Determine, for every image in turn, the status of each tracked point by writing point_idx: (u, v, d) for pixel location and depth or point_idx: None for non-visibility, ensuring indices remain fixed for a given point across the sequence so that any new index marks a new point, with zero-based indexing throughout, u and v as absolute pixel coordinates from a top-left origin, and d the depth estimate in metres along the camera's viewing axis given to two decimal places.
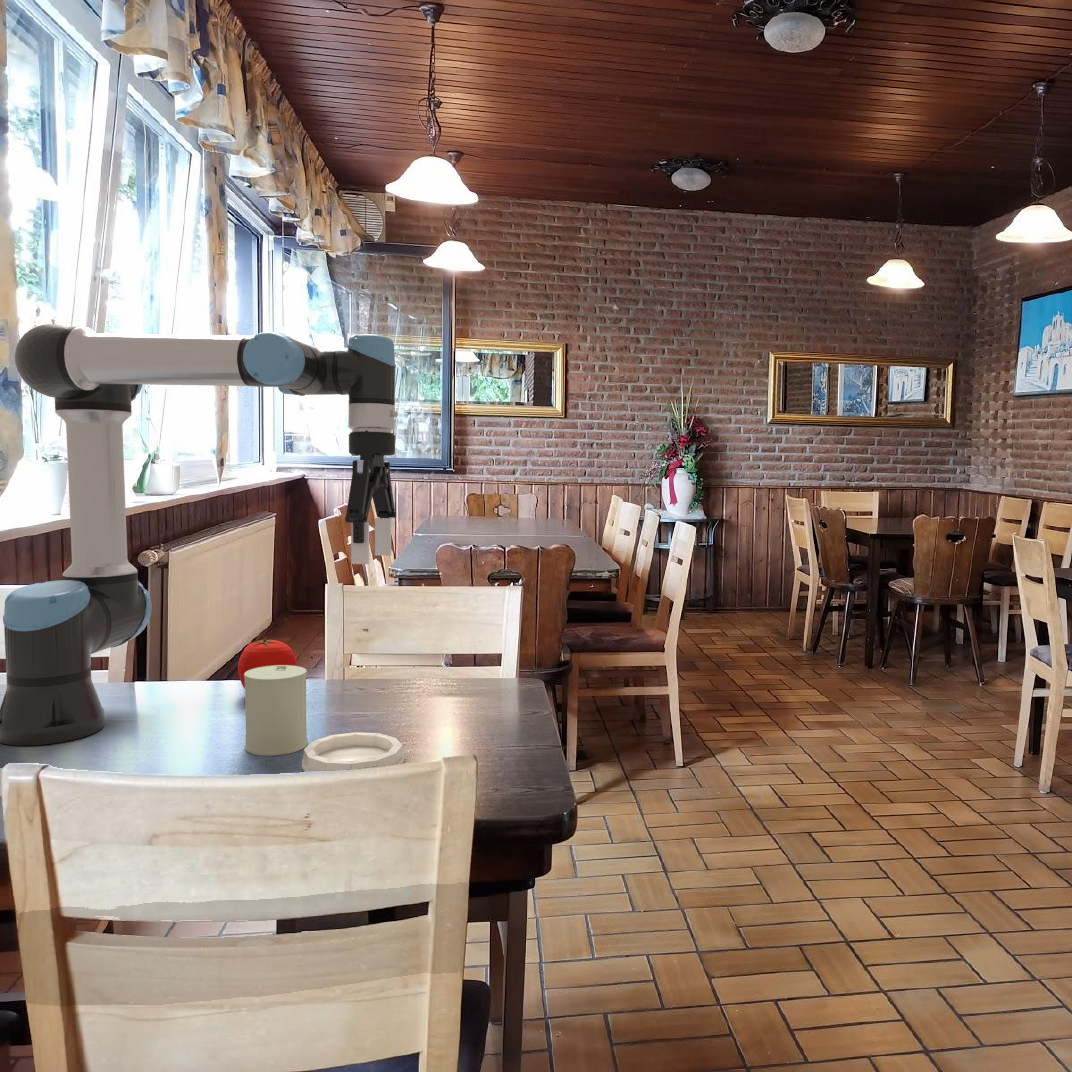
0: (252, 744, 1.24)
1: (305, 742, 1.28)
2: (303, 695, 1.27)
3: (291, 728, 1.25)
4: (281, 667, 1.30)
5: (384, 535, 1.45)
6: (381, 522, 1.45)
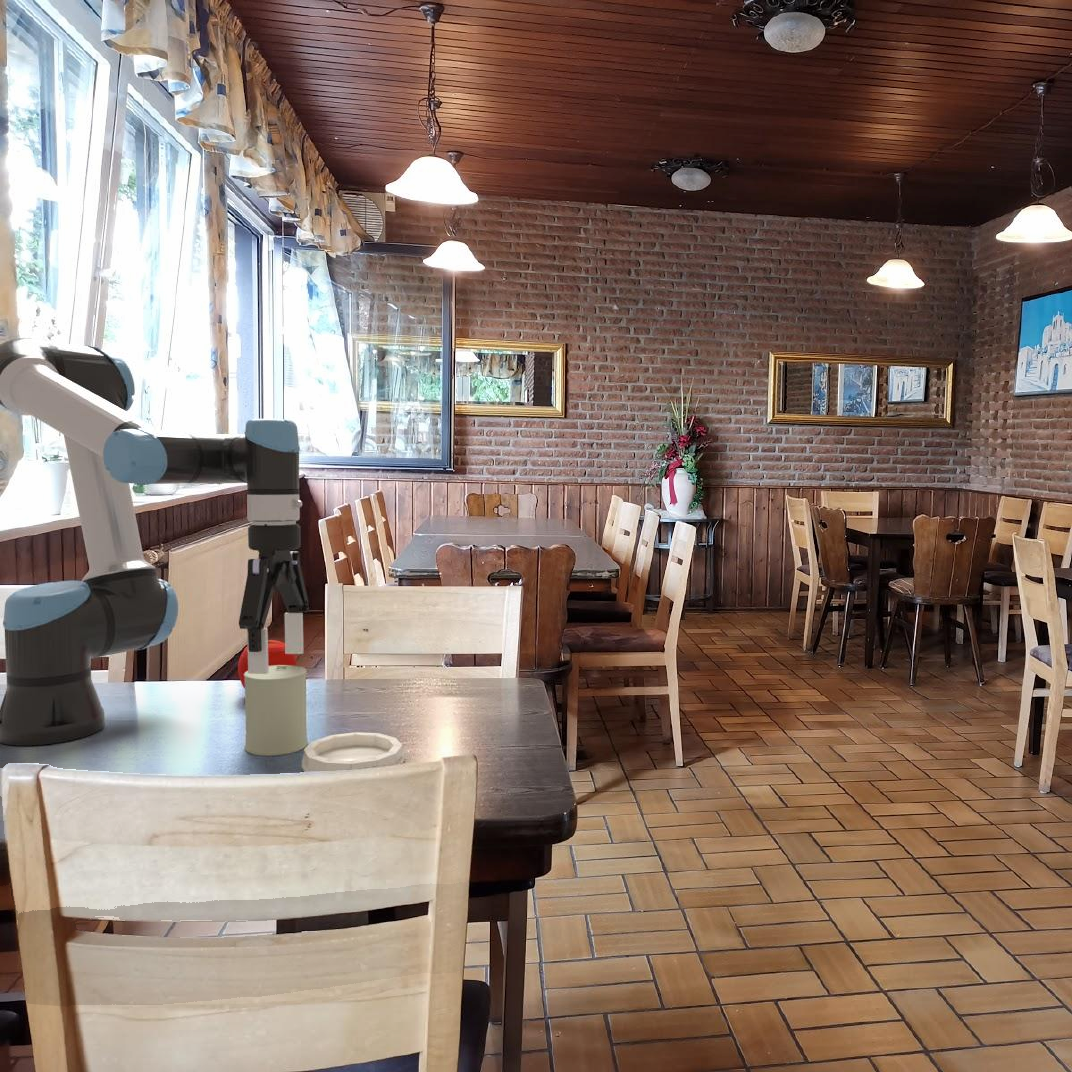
0: (252, 744, 1.24)
1: (305, 742, 1.28)
2: (303, 695, 1.27)
3: (290, 728, 1.25)
4: (281, 667, 1.30)
5: (295, 632, 1.33)
6: (291, 617, 1.33)
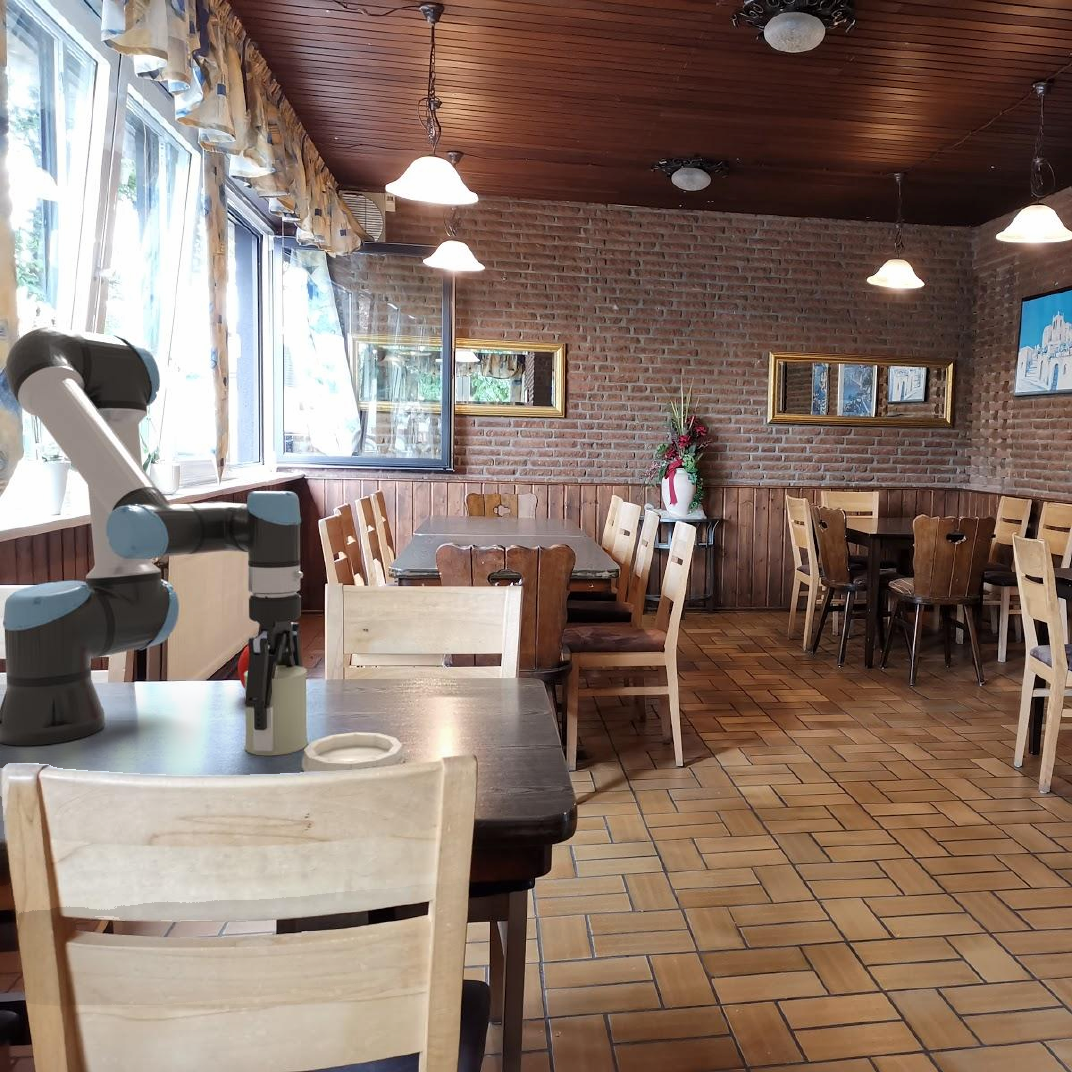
0: (252, 744, 1.24)
1: (305, 742, 1.28)
2: (303, 695, 1.27)
3: (291, 727, 1.25)
4: (281, 667, 1.30)
5: None
6: None
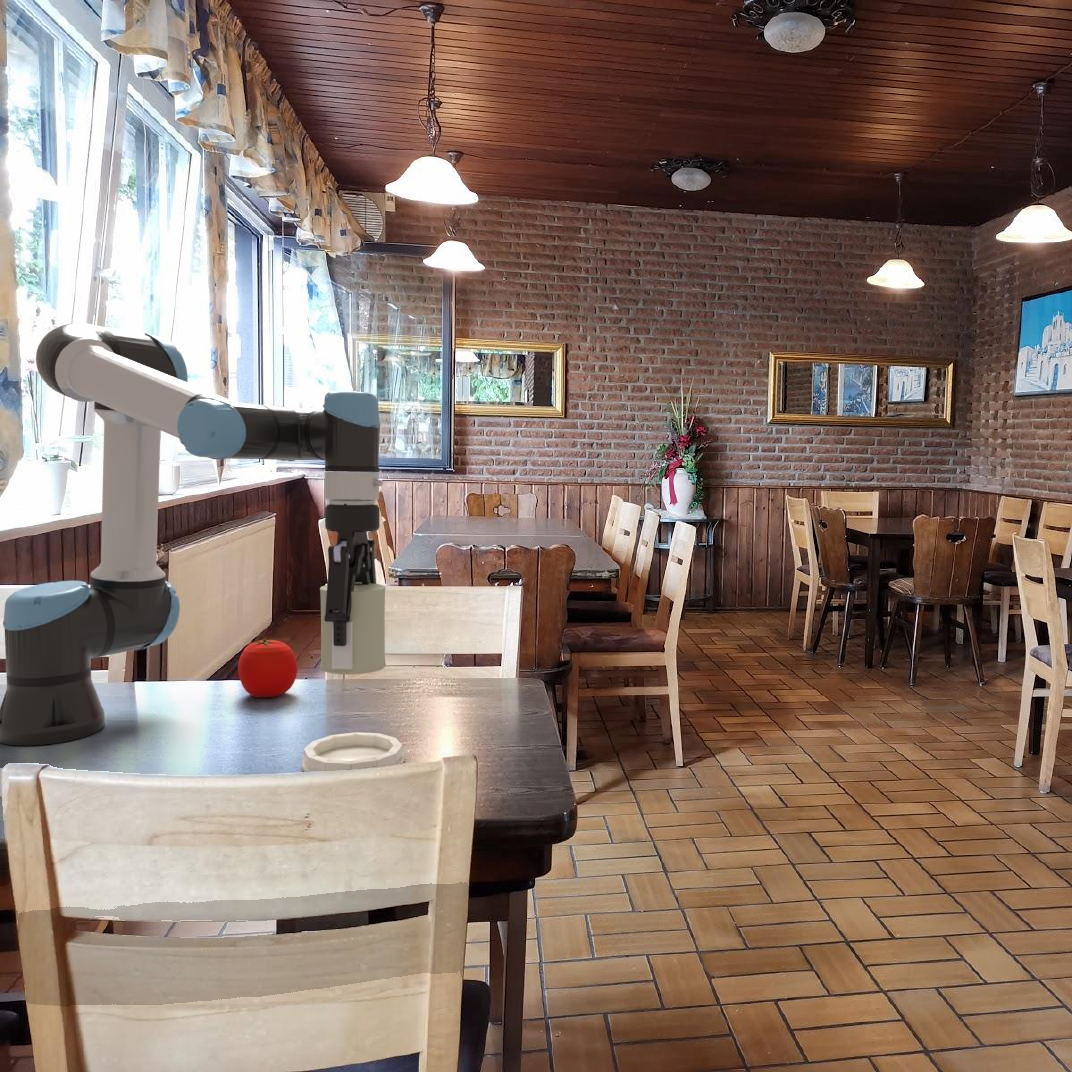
0: (329, 662, 1.16)
1: (384, 663, 1.19)
2: (383, 612, 1.18)
3: (371, 645, 1.16)
4: (357, 584, 1.22)
5: None
6: None
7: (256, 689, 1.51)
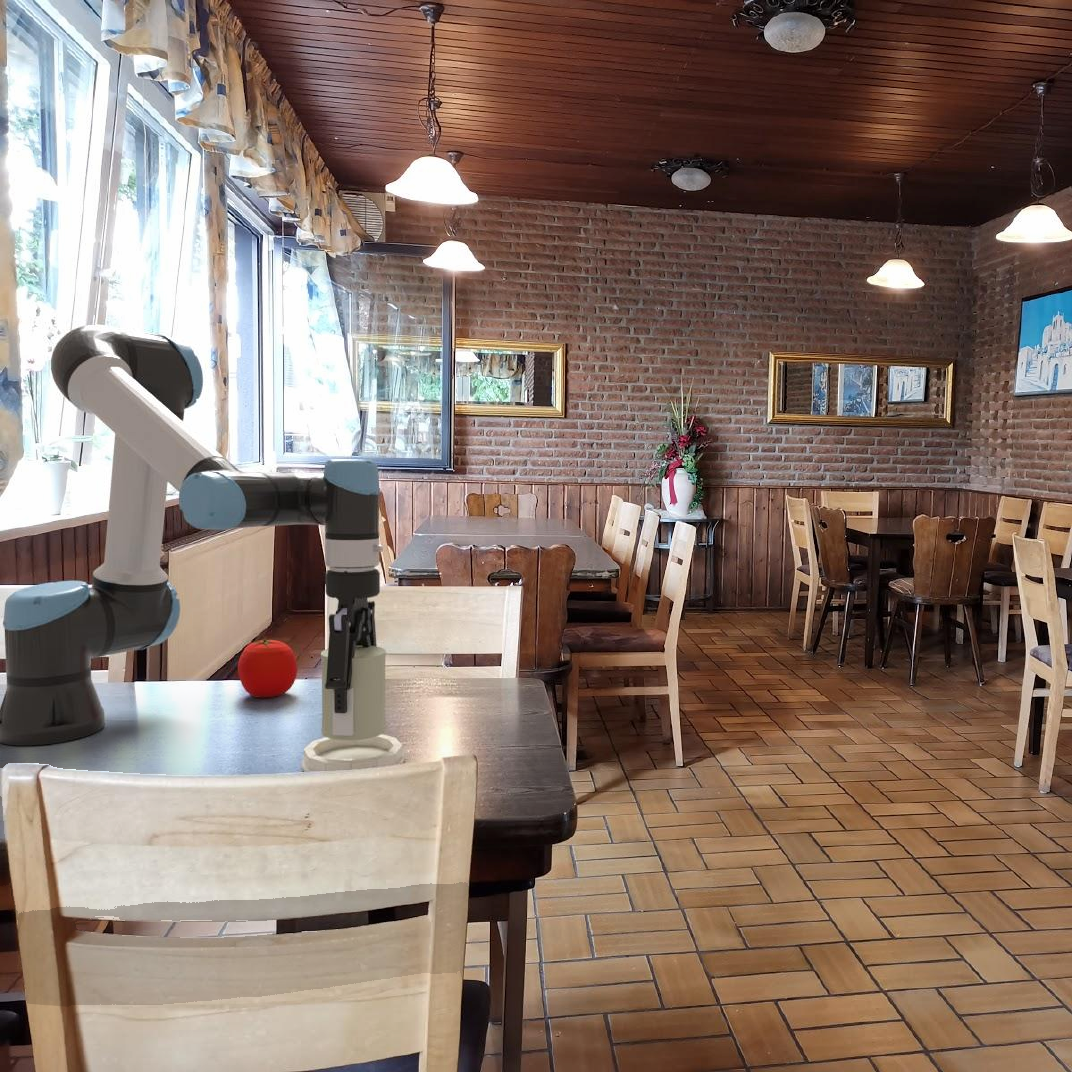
0: (330, 728, 1.16)
1: (385, 726, 1.20)
2: (383, 677, 1.19)
3: (371, 711, 1.17)
4: (357, 647, 1.23)
5: None
6: None
7: (256, 689, 1.51)
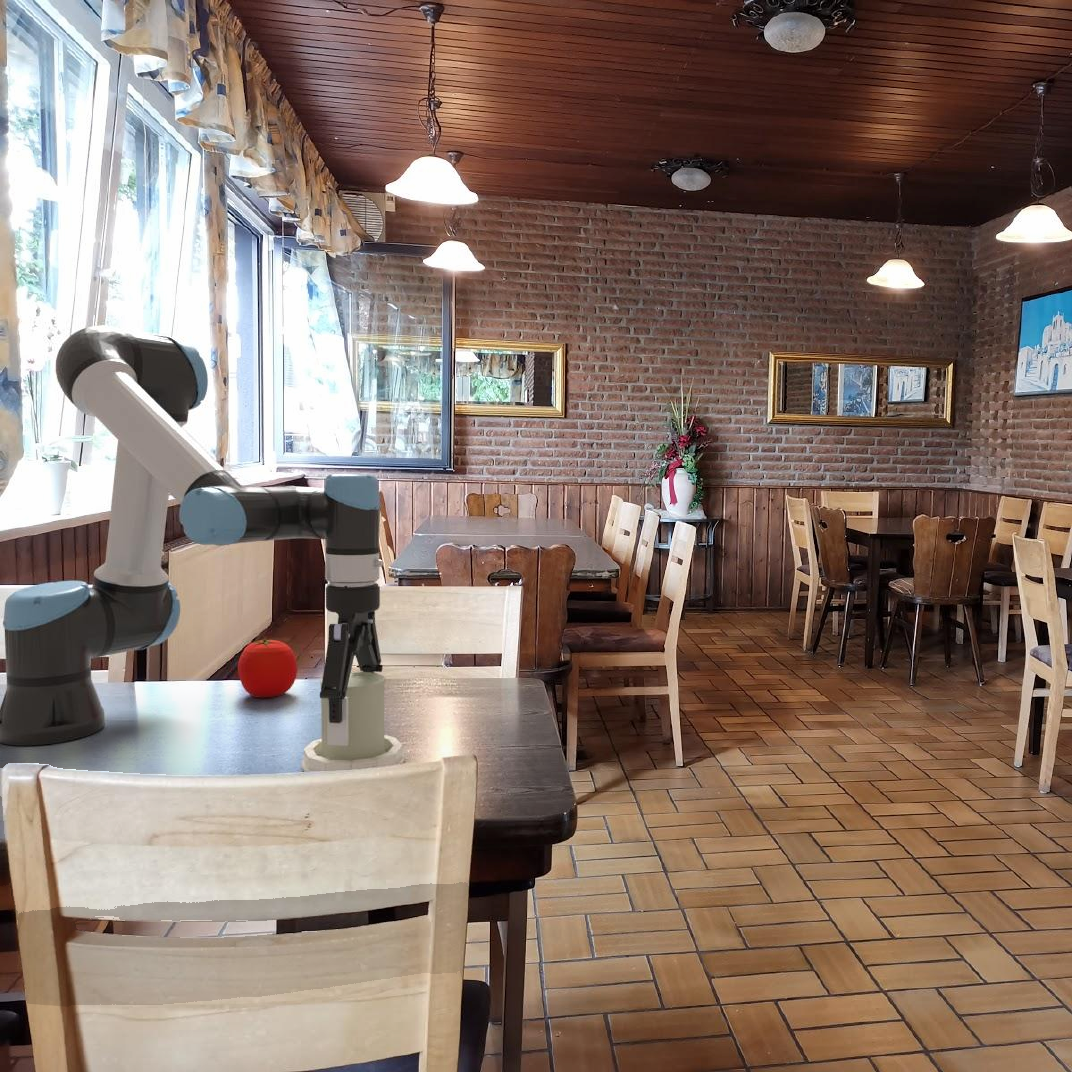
0: (329, 756, 1.17)
1: (384, 753, 1.20)
2: (382, 704, 1.19)
3: (370, 739, 1.17)
4: (356, 674, 1.23)
5: None
6: None
7: (256, 689, 1.51)
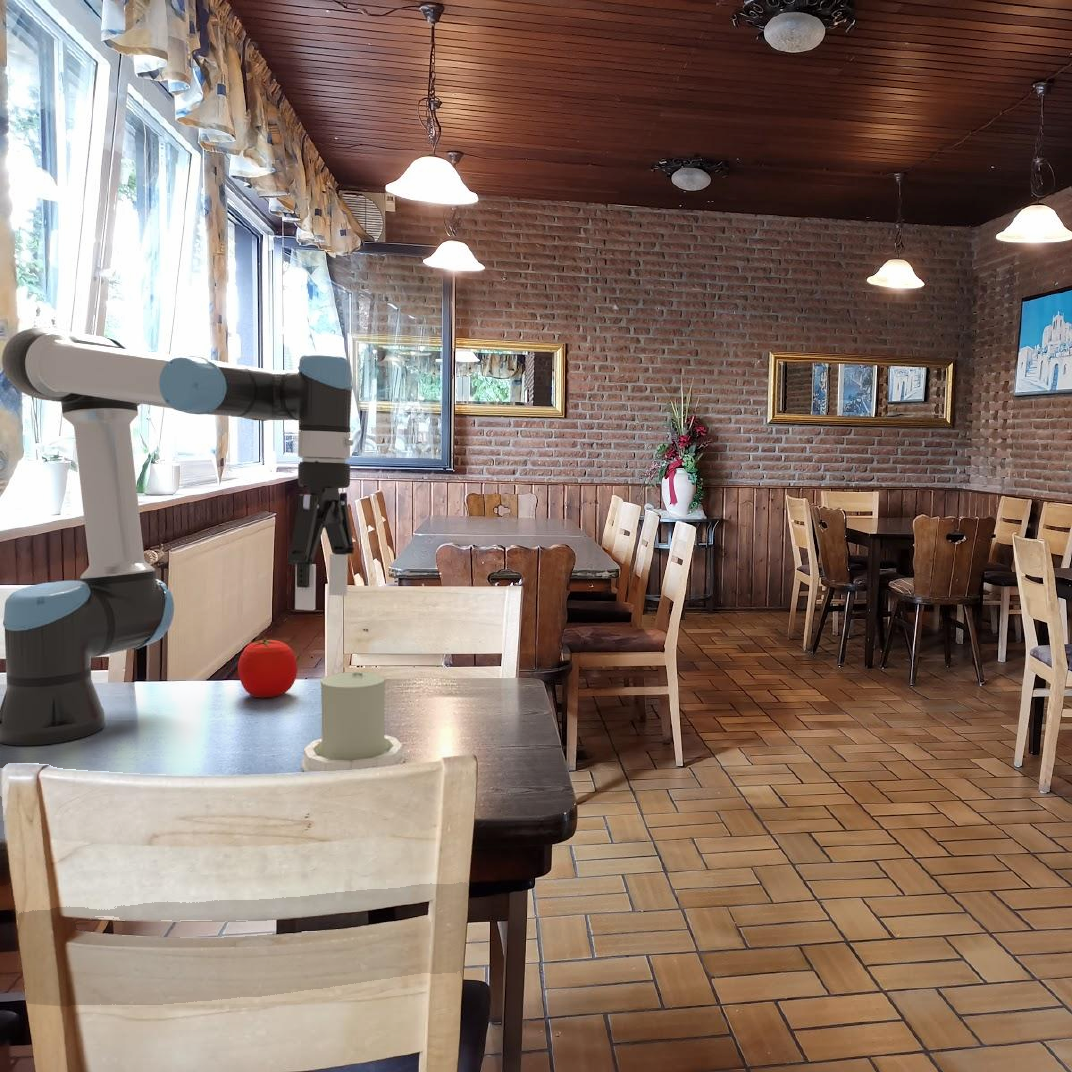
0: (330, 756, 1.17)
1: None
2: (383, 704, 1.19)
3: (371, 739, 1.17)
4: (357, 674, 1.23)
5: (339, 573, 1.32)
6: (336, 559, 1.32)
7: (256, 689, 1.51)
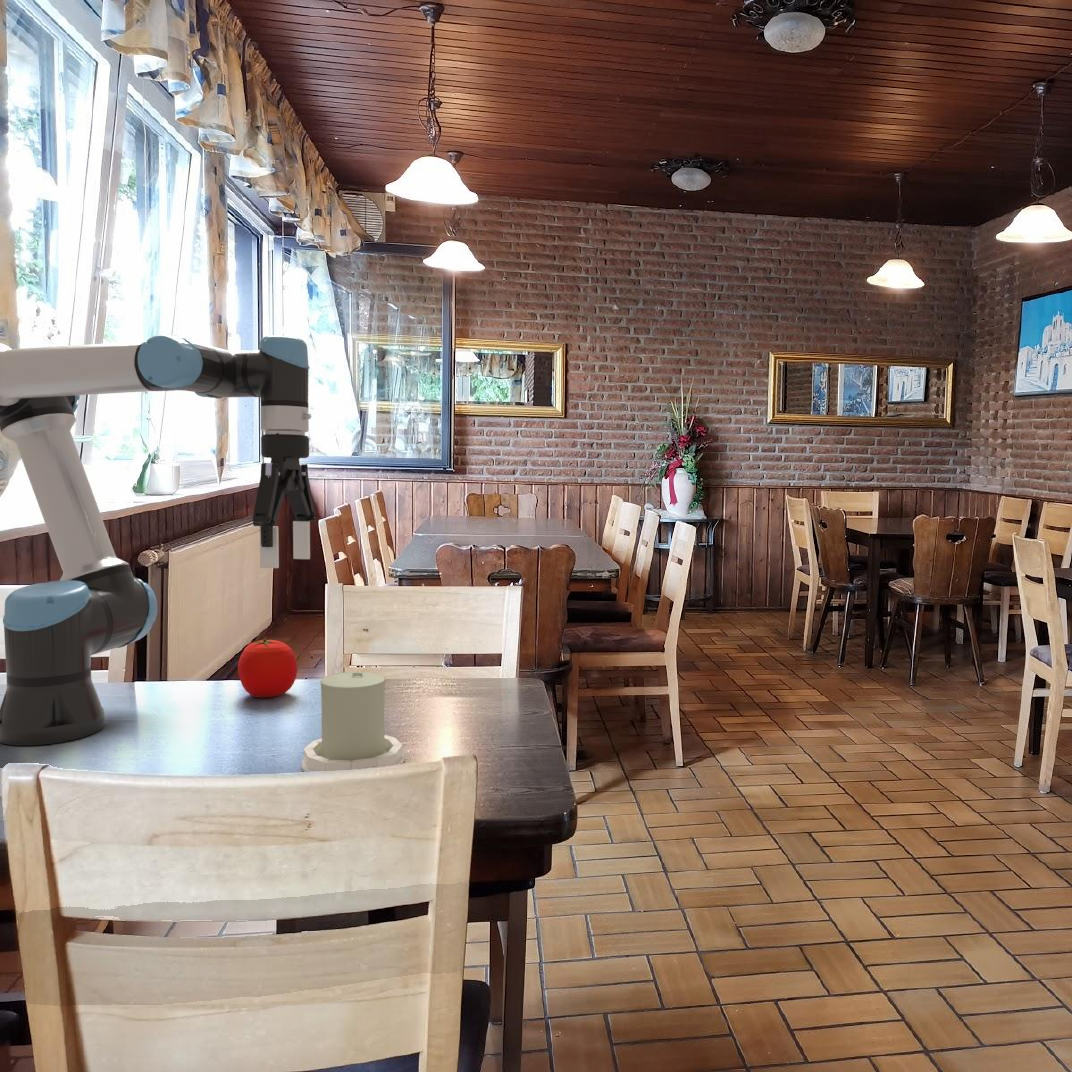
0: (330, 756, 1.17)
1: None
2: (383, 704, 1.19)
3: (371, 739, 1.17)
4: (357, 674, 1.23)
5: (302, 538, 1.44)
6: (299, 525, 1.44)
7: (256, 689, 1.51)
